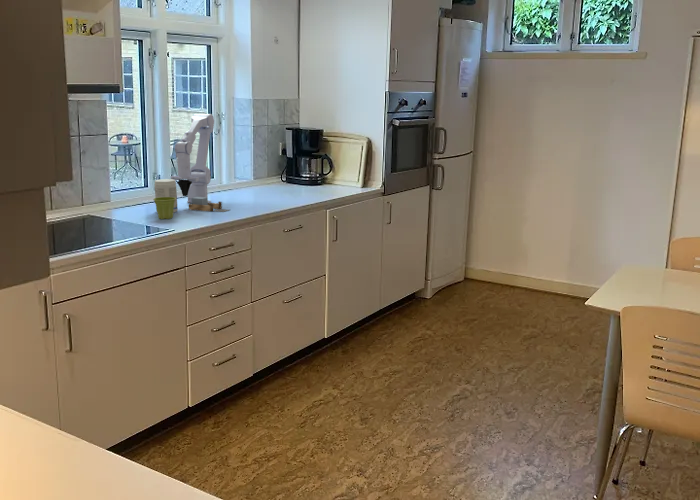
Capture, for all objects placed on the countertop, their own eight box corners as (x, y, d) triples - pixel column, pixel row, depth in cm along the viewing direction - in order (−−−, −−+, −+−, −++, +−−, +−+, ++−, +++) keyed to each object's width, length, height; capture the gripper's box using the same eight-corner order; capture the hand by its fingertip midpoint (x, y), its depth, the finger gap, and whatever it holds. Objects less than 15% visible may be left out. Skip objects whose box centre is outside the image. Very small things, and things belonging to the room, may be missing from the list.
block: (191, 208, 326) (191, 198, 325) (197, 207, 330) (196, 196, 329) (202, 209, 324) (202, 198, 323) (207, 208, 328) (207, 197, 327)
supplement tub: (175, 209, 324) (173, 178, 321) (179, 212, 316) (178, 180, 312) (154, 211, 320) (152, 179, 316) (158, 214, 311) (156, 181, 308)
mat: (212, 211, 321) (212, 210, 321) (219, 209, 327) (219, 208, 327) (223, 212, 319) (223, 211, 319) (230, 210, 325) (230, 209, 325)
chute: (188, 209, 325) (188, 202, 324) (198, 206, 332) (198, 199, 331) (212, 211, 320) (212, 204, 319) (221, 208, 327) (221, 201, 327)
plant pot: (165, 220, 296) (164, 200, 294) (149, 218, 301) (148, 198, 299) (181, 217, 304) (180, 198, 302) (166, 215, 309) (165, 196, 307)
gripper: (166, 167, 325) (167, 195, 328) (192, 168, 320) (193, 197, 323) (175, 166, 331) (176, 194, 334) (200, 167, 326) (201, 196, 329)
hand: (185, 195), depth 329 cm, fingers closed
